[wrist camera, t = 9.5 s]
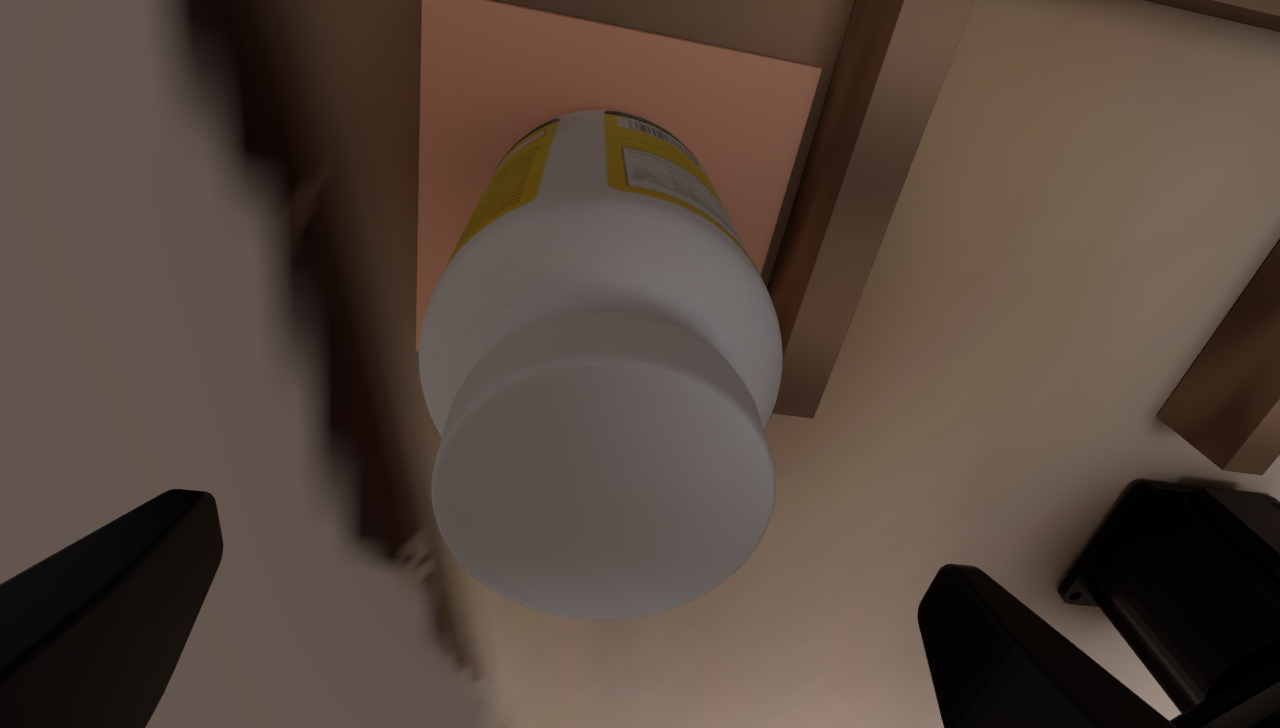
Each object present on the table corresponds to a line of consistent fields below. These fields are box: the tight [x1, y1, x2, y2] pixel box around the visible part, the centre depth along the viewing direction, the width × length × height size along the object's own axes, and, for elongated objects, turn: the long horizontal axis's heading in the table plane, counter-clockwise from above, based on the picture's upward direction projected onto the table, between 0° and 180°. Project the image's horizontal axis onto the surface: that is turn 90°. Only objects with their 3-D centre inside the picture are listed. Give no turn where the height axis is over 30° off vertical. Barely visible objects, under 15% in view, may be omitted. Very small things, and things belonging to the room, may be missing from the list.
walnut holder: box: [767, 0, 1280, 475], centre depth 19 cm, size 14×17×3 cm
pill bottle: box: [419, 110, 783, 620], centre depth 14 cm, size 6×6×12 cm
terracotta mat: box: [416, 0, 822, 351], centre depth 19 cm, size 10×10×1 cm
